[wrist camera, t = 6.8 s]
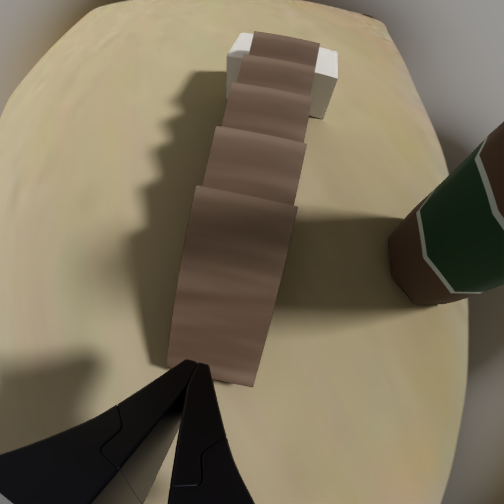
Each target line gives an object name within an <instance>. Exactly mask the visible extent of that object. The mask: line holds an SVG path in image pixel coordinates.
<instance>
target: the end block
mask: <svg viewBox="0 0 504 504" xmlns="http://www.w3.org/2000/svg"><path fill="white" fill-rule="evenodd" d="M253 35H254V34H248V33H241V34H240V35H239V37H238V39H237V40H236V42H235V43H234V45H233V47H232V48H231V50H230V52H229V53H228V55H227V75H226V99H227V100H228V96H229V92H230V88H231V84H232V82H235V83H236V82H237V78H238V74H239V70H240V65H241V61H242V57H243V54H246V55H249V51H250V47H251V43H252V39H253ZM337 79H338V63H337V52H336V51H332V50H329V49H325V48H321V47H319V52H318V57H317V62H316V68H315V73H314V79H313V84H312V89H311V95H310V97H312V103H311V108H310V113H309V116H312V117H316V118H320V119H323V118H324V115H325V112H326V110H327V107H328V104H329V101H330V99H331V96H332V93H333V90H334V88H335V85H336V82H337Z"/></svg>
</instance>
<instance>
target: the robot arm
mask: <svg viewBox="0 0 504 504" xmlns="http://www.w3.org/2000/svg"><path fill="white" fill-rule="evenodd" d="M178 429H179V433H178V439H177V445H176V451H175V458H174V464H173V470H172V477H171V484H170V490H169V498H168V504H255V503H254V501H253V499H252V497H251V495H250V493H249V491H248V490H247V488H246V486H245V484H244V482H243V480H242V478H241V476H240V474H239V471H238V469H237V467H236V464H235V462H234V459H233V456H232V453H231V450H230V447H229V443H228V440H227V438H226V433H225V429H224V426H223V422H222V418H221V414H220V410H219V406H218V401H217V397H216V393H215V389H214V384H213V380H212V375H211V371H210V366H209V365H208V364H204V363H200V362H198V363H197V362H196V361H193V360H189V359H185V360H184V361H182V362H181V363H179V364H178V365H176V366H175V367H173V368H172V369H170V370H169V371H168V372H166V373H165V374H163V375H162V376H160V377H159V378H157V379H156V380H154V381H153V382H151V383H150V384H148V385H147V386H145V387H144V388H142V389H141V390H139V391H138V392H136V393H135V394H133V395H131V396H130V397H128V398H127V399H125V400H124V401H122V402H121V403H119V404H118V406H117V405H115V406H114V407H112V408H110V409H109V410H107V411H105V412H104V413H102V414H100V415H99V416H97V417H95V418H93V419H91V420H89V421H86V422H84V423H82V424H80V425H78V426H75V427H73V428H71V429H68V430H66V431H63V432H61V433H58V434H56V435H53V436H51V437H48V438H46V439H43V440H41V441H38V442H35V443H33V444H30V445H27V446H25V447H22V448H19V449H16V450H13V451H10V452H7V453H4V454H1V455H0V504H143V503H144V501H145V499H146V497H147V495H148V493H149V491H150V488H151V486H152V484H153V482H154V480H155V478H156V476H157V474H158V472H159V469H160V467H161V465H162V463H163V461H164V459H165V457H166V455H167V452H168V450H169V448H170V446H171V444H172V442H173V440H174V438H175V435H176V433H177V431H178Z"/></svg>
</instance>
